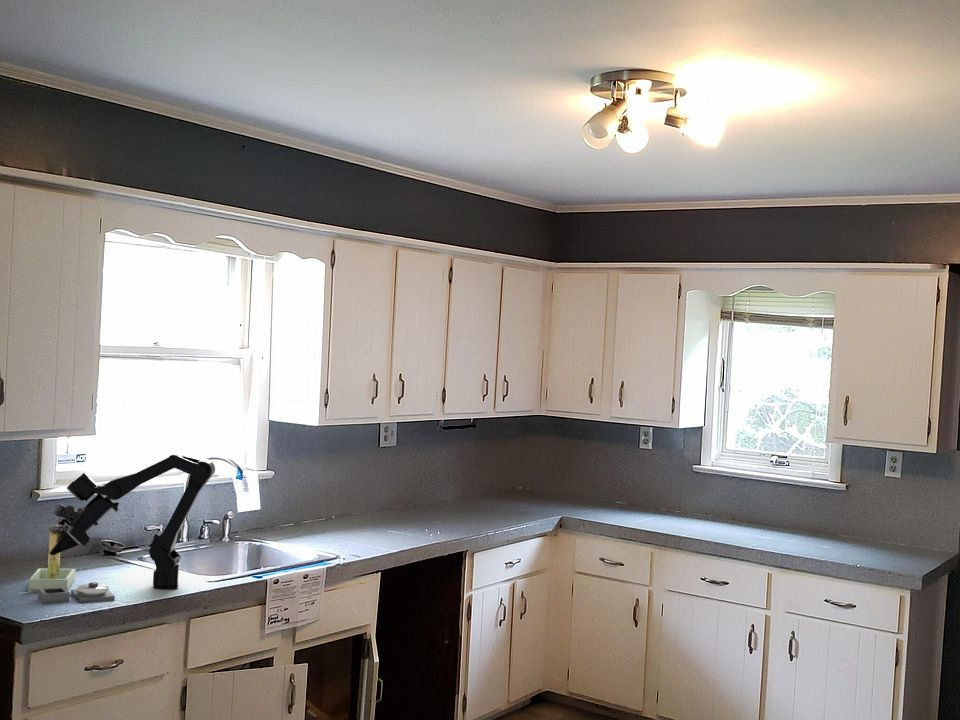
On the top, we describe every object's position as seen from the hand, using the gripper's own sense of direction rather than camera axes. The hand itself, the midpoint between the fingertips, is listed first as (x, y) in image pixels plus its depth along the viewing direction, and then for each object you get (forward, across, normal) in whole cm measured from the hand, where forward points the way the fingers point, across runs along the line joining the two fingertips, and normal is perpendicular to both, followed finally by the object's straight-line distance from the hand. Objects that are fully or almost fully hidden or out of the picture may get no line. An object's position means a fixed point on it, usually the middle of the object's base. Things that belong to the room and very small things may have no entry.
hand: (49, 553), depth 280 cm
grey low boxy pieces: (+4, +16, +10) cm, 19 cm away
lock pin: (+4, 0, +6) cm, 7 cm away
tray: (+6, 0, +8) cm, 10 cm away
